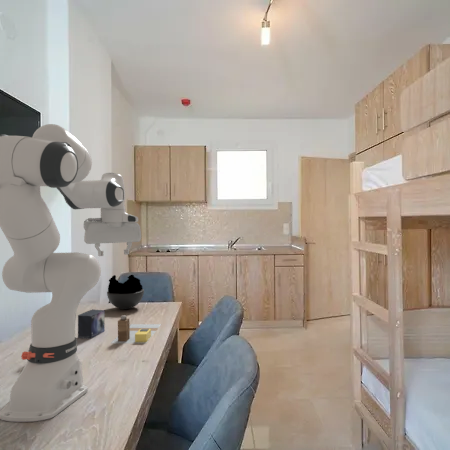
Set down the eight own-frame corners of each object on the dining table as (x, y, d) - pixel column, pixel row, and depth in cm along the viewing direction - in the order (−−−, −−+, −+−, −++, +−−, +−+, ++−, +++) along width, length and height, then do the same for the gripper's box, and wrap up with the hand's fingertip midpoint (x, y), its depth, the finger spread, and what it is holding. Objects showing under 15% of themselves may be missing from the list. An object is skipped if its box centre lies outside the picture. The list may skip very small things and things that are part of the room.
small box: (91, 341, 141) (91, 315, 141) (77, 341, 143) (76, 315, 143) (105, 333, 152) (105, 309, 152) (91, 333, 153) (91, 309, 153)
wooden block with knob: (126, 341, 138) (126, 317, 138) (118, 341, 138) (117, 317, 138) (129, 338, 141) (129, 314, 141) (121, 338, 141) (120, 314, 141)
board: (146, 346, 135) (146, 343, 135) (110, 346, 136) (110, 343, 136) (161, 326, 161) (161, 324, 161) (131, 326, 162) (131, 324, 162)
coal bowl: (151, 307, 200) (151, 274, 200) (124, 314, 184) (124, 278, 184) (127, 303, 211) (126, 272, 211) (99, 310, 194) (99, 276, 194)
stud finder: (146, 342, 137) (146, 333, 137) (135, 342, 137) (135, 333, 137) (151, 336, 144) (151, 328, 144) (140, 336, 144) (140, 328, 144)
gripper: (85, 217, 122) (86, 257, 122) (142, 217, 133) (143, 254, 133) (81, 218, 127) (82, 256, 127) (136, 217, 138) (137, 253, 139)
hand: (113, 255), depth 130 cm, fingers open, 8 cm apart
